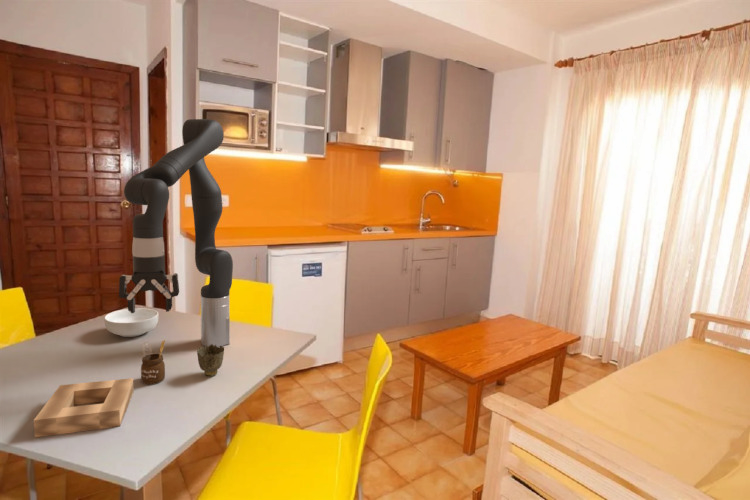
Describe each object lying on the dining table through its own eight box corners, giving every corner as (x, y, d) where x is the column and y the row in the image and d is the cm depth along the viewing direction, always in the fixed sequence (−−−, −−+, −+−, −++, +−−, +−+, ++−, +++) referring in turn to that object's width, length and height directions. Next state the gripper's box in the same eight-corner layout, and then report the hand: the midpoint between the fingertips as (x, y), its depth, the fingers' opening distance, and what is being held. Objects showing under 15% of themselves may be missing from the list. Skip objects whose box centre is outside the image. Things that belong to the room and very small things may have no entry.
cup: (229, 372, 124) (229, 346, 123) (212, 382, 118) (212, 355, 116) (209, 367, 127) (209, 342, 126) (191, 377, 120) (191, 351, 119)
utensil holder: (148, 374, 120) (147, 335, 118) (170, 376, 120) (169, 336, 118) (136, 384, 114) (135, 343, 112) (159, 386, 114) (157, 344, 112)
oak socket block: (133, 392, 110) (133, 378, 109) (120, 426, 95) (119, 410, 95) (61, 400, 104) (60, 385, 104) (34, 437, 90) (33, 420, 89)
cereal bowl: (142, 343, 141) (141, 323, 140) (93, 340, 141) (92, 320, 140) (167, 326, 158) (167, 308, 157) (124, 324, 158) (123, 306, 157)
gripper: (179, 251, 117) (180, 306, 120) (121, 251, 112) (124, 308, 115) (176, 256, 110) (177, 314, 113) (114, 256, 105) (117, 317, 108)
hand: (150, 311), depth 114 cm, fingers open, 8 cm apart
